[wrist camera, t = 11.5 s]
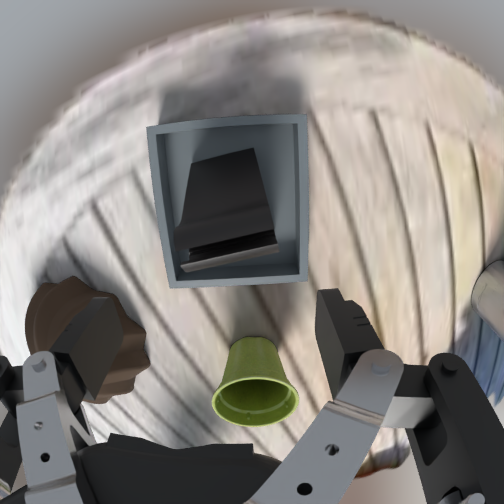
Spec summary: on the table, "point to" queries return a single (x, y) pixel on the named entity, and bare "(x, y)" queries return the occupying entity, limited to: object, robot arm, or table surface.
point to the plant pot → (254, 386)
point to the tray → (274, 180)
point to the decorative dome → (58, 317)
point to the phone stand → (225, 212)
